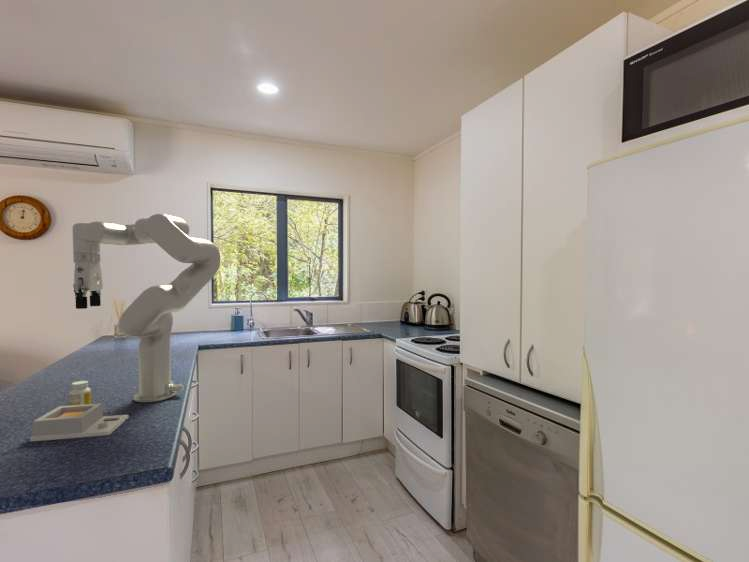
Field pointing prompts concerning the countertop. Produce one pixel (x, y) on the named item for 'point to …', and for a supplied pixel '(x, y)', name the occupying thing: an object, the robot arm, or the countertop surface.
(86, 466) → the countertop surface
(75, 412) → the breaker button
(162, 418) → the countertop surface
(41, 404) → the countertop surface
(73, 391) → the supplement bottle
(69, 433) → the white holder tray
